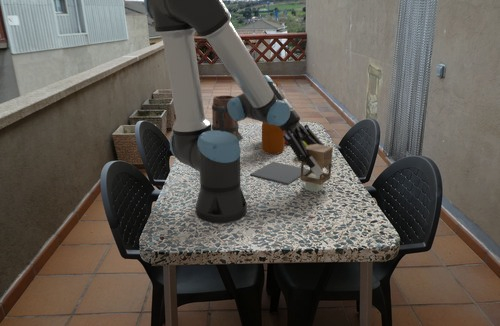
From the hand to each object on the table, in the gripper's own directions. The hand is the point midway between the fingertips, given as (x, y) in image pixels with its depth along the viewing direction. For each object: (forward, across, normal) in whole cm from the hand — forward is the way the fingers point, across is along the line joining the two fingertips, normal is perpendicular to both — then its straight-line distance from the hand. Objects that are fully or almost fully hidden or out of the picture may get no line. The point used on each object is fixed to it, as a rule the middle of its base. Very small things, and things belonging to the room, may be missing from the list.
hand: (325, 171), depth 128 cm
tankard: (-41, -28, -51) cm, 71 cm away
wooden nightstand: (0, 0, -5) cm, 5 cm away
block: (+3, 0, -8) cm, 8 cm away
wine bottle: (-21, -26, -30) cm, 45 cm away
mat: (-10, -6, -19) cm, 22 cm away
